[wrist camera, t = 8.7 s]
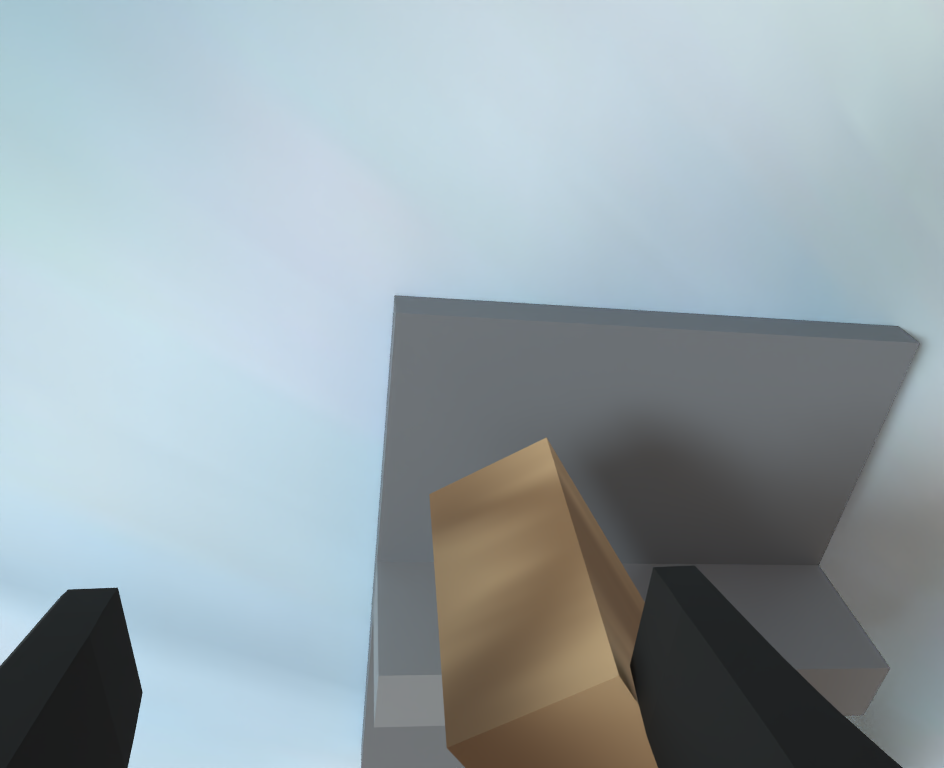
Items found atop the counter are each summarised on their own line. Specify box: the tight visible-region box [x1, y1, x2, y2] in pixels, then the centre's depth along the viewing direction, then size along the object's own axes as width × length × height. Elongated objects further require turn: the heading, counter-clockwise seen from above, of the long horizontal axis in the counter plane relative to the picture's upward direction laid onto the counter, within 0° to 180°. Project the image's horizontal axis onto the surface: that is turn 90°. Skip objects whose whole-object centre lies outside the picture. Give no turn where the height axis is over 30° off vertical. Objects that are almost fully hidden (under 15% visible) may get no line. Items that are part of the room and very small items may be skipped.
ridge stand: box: [361, 296, 920, 768], centre depth 23 cm, size 14×18×5 cm
